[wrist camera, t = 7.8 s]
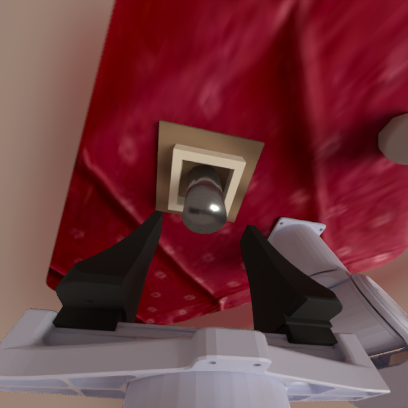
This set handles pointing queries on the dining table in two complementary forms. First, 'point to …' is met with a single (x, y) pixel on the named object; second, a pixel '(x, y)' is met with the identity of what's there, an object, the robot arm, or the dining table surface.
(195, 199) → the peg
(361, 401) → the robot arm
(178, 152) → the socket board
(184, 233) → the dining table surface
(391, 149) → the salt shaker
